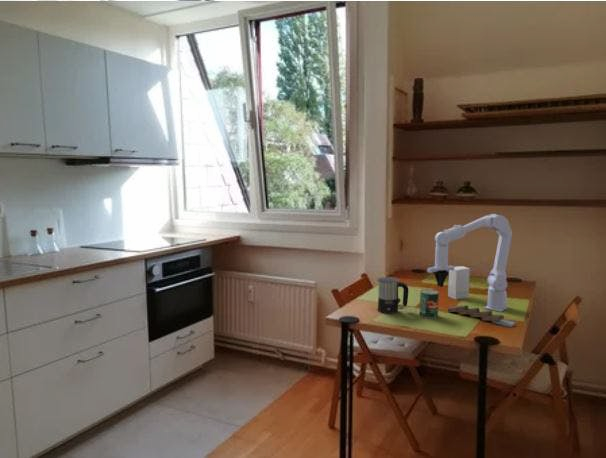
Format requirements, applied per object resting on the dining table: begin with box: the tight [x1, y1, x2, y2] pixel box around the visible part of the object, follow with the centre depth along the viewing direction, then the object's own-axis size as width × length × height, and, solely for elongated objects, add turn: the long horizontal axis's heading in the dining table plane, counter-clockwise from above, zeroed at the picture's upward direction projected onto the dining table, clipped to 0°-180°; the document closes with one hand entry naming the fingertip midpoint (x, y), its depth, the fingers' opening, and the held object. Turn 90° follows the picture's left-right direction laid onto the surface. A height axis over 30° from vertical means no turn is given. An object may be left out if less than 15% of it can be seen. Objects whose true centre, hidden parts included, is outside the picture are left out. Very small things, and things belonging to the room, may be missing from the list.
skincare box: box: [447, 265, 471, 301], centre depth 229 cm, size 8×7×16 cm
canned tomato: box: [418, 288, 440, 319], centre depth 200 cm, size 8×8×11 cm
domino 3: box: [469, 310, 493, 318], centre depth 196 cm, size 4×2×8 cm
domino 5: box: [491, 319, 516, 328], centre depth 190 cm, size 4×2×8 cm
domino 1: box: [447, 304, 470, 313], centre depth 204 cm, size 4×2×8 cm
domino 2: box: [457, 307, 481, 316], centre depth 201 cm, size 4×2×8 cm
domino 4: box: [481, 314, 505, 322], centre depth 192 cm, size 4×2×8 cm
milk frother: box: [376, 276, 409, 314], centre depth 210 cm, size 14×16×15 cm
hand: (440, 286), depth 213 cm, fingers closed
